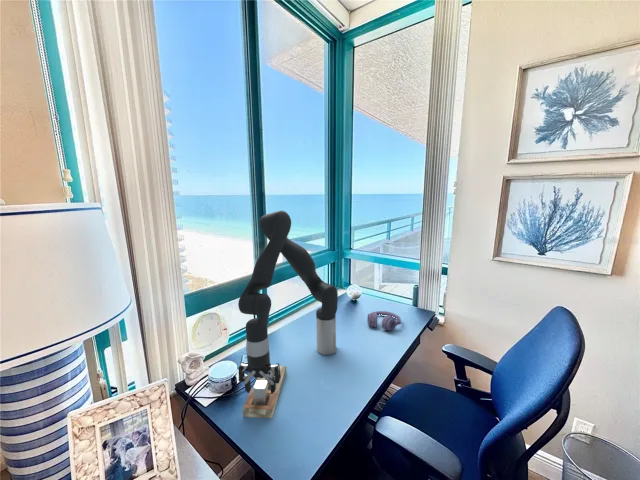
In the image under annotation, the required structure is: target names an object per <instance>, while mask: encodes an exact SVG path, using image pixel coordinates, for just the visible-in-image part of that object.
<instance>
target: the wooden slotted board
mask: <svg viewBox="0 0 640 480" xmlns="http://www.w3.org/2000/svg"><path fill="white" fill-rule="evenodd" d="M279 366H280V374H281V378H280V381H279V383H276V389H275V392H274V393H273V394H271V389H268V394H269V400H268V403H267V406H264V405H254V394H253V388H254V385H255V383H256V381H257V380H266V379H265V378H255V379H256V380H255V382H254V384H253V386H252V387H251V390H250V392H249V393H248V396H247V398H246V401H245V402H244V405H243V407H242V417H244V418H257V419H258V418H259V419H260V418H262V419H273V416H274V414H275V411H276V407H277V404H278V401H279V398H280V395H281V391H282V388H283V385H284V382H285V378H286V375H287V366H286V365H279ZM271 372H272V374H273V375H274V376H275V372H273V370H272V369H271ZM267 375H268V374H267ZM270 385H271V384H270V382H269V381H268V388H271V387H270Z"/></svg>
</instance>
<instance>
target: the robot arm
mask: <svg viewBox="0 0 640 480" xmlns="http://www.w3.org/2000/svg"><path fill="white" fill-rule="evenodd" d="M258 223H259V224H258V225H259V228H260V230H261V232H262V233H263V235H264V236H265V238H266V239H268V242H267V245H266V246H265V248H264V249H263V250H262V251H261V253H260V255H259V256H258V257H257V260H256V262H255V264H254V266H253V267H254V268H253V271H252V273H251V278H250V280H249V282H248V283H247V285H246V286H245V288H244V290H243V292H242V293H241V295H240V296H239V299H238V302H237V303H238V304H237V305H238V310H239V311H240V313H241V314H244V315H253V316H257V317H254V318H252V319H249V320H248V321H247V322H246V323H245V335H246V341H245V342H246V343H245V346H246V347H245V350H246V361H247V362H246V363H245V362H244V361H242V362H240V364H239V366H238V382H239V383H241V382H242V383H244V390H245V392H246V393H247V394H250V392H251V390H252V384H251V383H252V382H251V379H252V378H254V379H257V378H265V379H266V380H267V381H269V382H270V384H271V385H270V387H269V388H270V390H271V394H273V393H274V392H275V389H276V383H279V381H280V378H281V374H280V366H281V365H280V363H276V364H271V357H270V341H269V336H268V332H269V330H268V322H269V316H270V312H271V309H272V308H271V307H272V300H271V297H270V295H269V294H266V293H259V291H261V290H264V289H268V288H270V286H271V285H272V281H273V279H274V278H273V276H274V273H275V269H276V265H277V264H278V263H277V262H278V259H279V257H280V255H282V256H283V258H285V260H286V261H287V262H288V264H289V266H291V268H292V269H293V271H294V272H295V273H296V274H297V275H298V277H299V278H300V279H301V281H303V283H304V284H305V285H306V287H307V289H308V290H309V292H310V294H311V296H312V297H313V299H314V300H316V301H317V302H319V303H320V304H321V307H319V308H318V309H316V313H315V316H316V317H315V321H316V322H315V323H316V325H315V327H316V328H315V329H316V352H318V353H319V354H320V355H323V356H324V355H325V356H329V355H333V354H336V353H337V326H336V325H337V321H336V320H337V319H336V316H337V315H336V314H337V311H338V301H339V300H338V298H339V297H338V296H339V294H338V292H339V291H338V289H337V287H336V286H335V285H333V284H329V283H327V282H325V281H324V280H322V278H320V276H319V275H318V273H317V271H316V269H317V268H316V264H315V260H314V259H313V258H312V256H311V255H310V253H309V252H308V250H306V249H305V248H304V247H303V246H301V245H300V244H298V243H296V242H294V241H293V240H292V239H290V238H289V237H288V236H289V233H290V232H291V227H292V219H291V217H290V215H289V213H288V212H286V211H285V210H278V211H273V212H270V213H267V214H264V215H262V216H261V217H260V219H259V222H258ZM271 369H272V370H273V372H275V375H273V374H272V372H271ZM246 370H247V371H248V372H249V373H248V374H247V375H246V374H245V373H246ZM267 374H268V375H267Z"/></svg>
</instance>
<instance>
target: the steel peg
mask: <svg viewBox="0 0 640 480" xmlns="http://www.w3.org/2000/svg"><path fill="white" fill-rule="evenodd" d="M255 382H256V383H255ZM255 382H254V384H255V385H254V384H253V386H254V388H253V387H252V388H253V394H254V405H264V406H267V403H268V400H269V394H268V390H269V387H268V381H267V380H257V381H256V380H255Z"/></svg>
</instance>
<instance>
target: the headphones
mask: <svg viewBox="0 0 640 480" xmlns="http://www.w3.org/2000/svg"><path fill="white" fill-rule="evenodd" d="M379 314H380V315H381V314H382V315H387V316H383V318H382V320H381V328H382V329H383V330H384V329H385V331H387V330H390V331H391V332H392V331H393V330H395V329H396V327H397V326H399V325H400V324H402V323H401V321H402V320H401V317H400V316H399V315H397V314H395V313H394V312H391V311H386V310H383V311H382V310H381V311H380V310H379V311H378V310H377V311H371V312H370V313H368V314H367V325H368V326H370V327H371V328H377V326H378V316H379ZM392 316H393V317H395V318H397V319H398V320H397V319H394V318H393V317H392ZM396 320H397V321H396ZM390 331H389V332H390Z"/></svg>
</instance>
